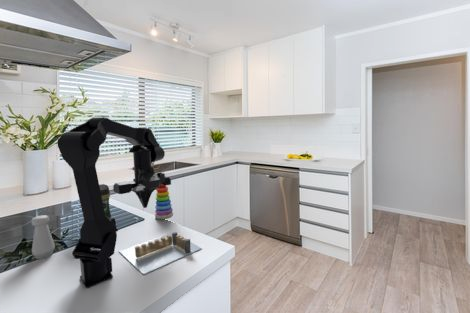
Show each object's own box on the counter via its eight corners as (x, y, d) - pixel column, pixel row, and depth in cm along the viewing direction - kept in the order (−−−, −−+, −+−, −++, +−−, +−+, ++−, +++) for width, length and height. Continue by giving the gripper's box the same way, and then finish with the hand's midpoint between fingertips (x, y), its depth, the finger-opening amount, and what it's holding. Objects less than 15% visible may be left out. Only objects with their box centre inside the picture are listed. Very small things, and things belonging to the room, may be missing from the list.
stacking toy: (166, 212, 117) (164, 174, 114) (176, 216, 112) (175, 176, 109) (151, 217, 111) (149, 176, 108) (161, 221, 106) (159, 179, 103)
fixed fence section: (187, 254, 78) (186, 242, 77) (171, 244, 84) (171, 233, 84) (191, 252, 79) (191, 240, 79) (176, 243, 86) (175, 231, 85)
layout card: (143, 275, 67) (143, 273, 67) (118, 252, 80) (118, 251, 80) (201, 249, 81) (201, 247, 81) (172, 232, 94) (172, 232, 94)
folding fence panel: (170, 243, 84) (169, 234, 83) (172, 244, 83) (171, 235, 82) (135, 256, 75) (134, 246, 75) (137, 258, 75) (136, 248, 74)
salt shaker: (36, 253, 79) (32, 214, 78) (57, 249, 82) (53, 212, 80) (29, 262, 74) (24, 221, 73) (52, 258, 76) (48, 218, 75)
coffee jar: (107, 225, 102) (104, 181, 99) (116, 230, 97) (112, 184, 94) (81, 233, 94) (77, 186, 92) (89, 239, 89) (85, 189, 87)
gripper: (124, 170, 73) (127, 220, 75) (178, 163, 86) (180, 206, 88) (111, 166, 81) (114, 212, 83) (162, 160, 94) (164, 200, 96)
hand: (145, 207), depth 87 cm, fingers closed
